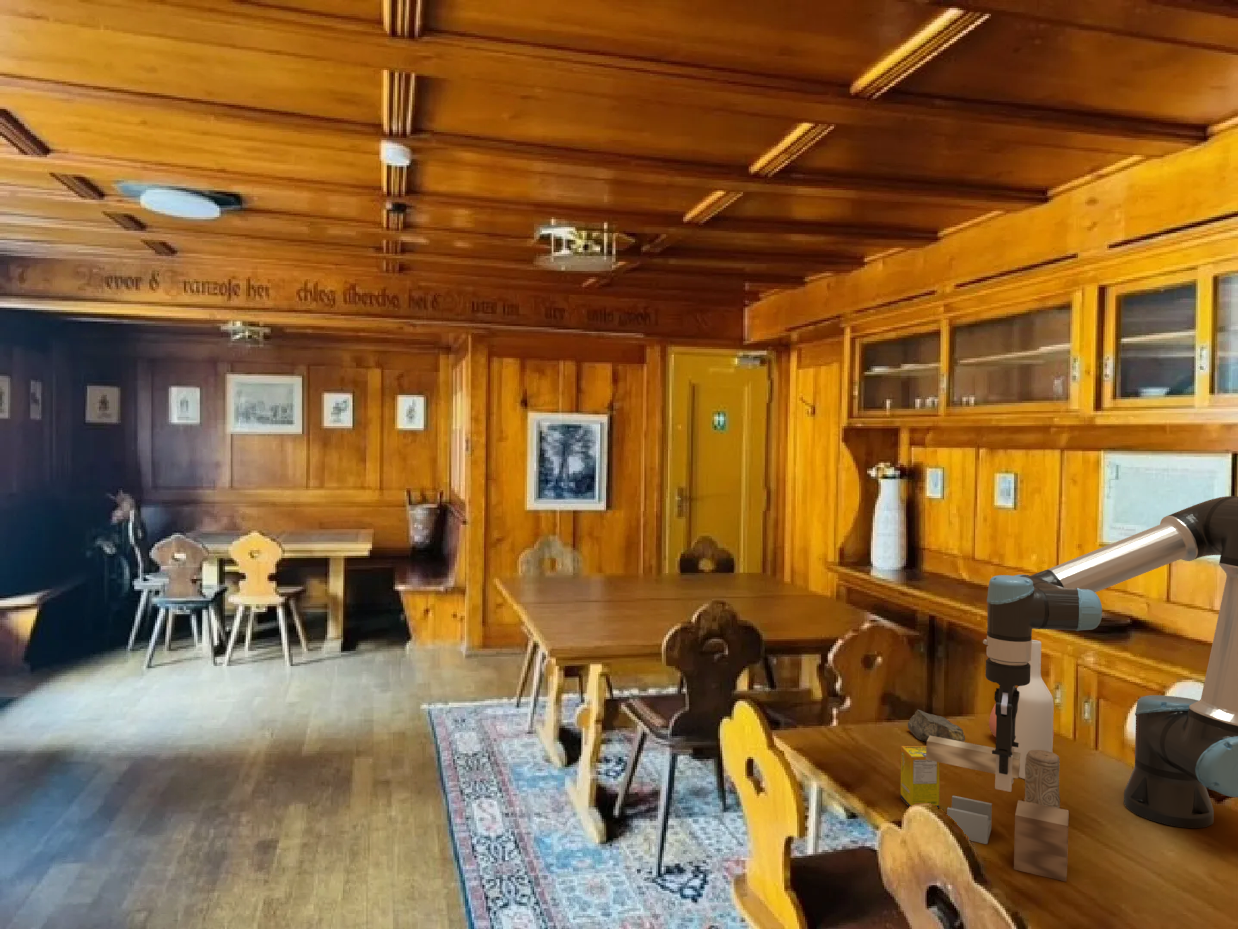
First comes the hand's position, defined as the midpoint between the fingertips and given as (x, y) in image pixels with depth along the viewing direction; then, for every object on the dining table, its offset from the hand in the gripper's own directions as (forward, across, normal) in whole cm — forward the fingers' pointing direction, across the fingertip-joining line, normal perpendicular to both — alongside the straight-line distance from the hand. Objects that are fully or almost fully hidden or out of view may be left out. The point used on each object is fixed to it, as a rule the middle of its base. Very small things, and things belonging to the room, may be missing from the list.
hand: (1004, 785), depth 155 cm
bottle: (+10, -38, +3) cm, 39 cm away
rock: (+11, -48, -19) cm, 53 cm away
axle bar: (-3, 0, -6) cm, 6 cm away
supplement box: (+11, -9, -16) cm, 21 cm away
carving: (+10, -17, +6) cm, 20 cm away
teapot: (+10, -59, -1) cm, 60 cm away
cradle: (+10, 0, -6) cm, 12 cm away
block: (+10, +7, +7) cm, 14 cm away
